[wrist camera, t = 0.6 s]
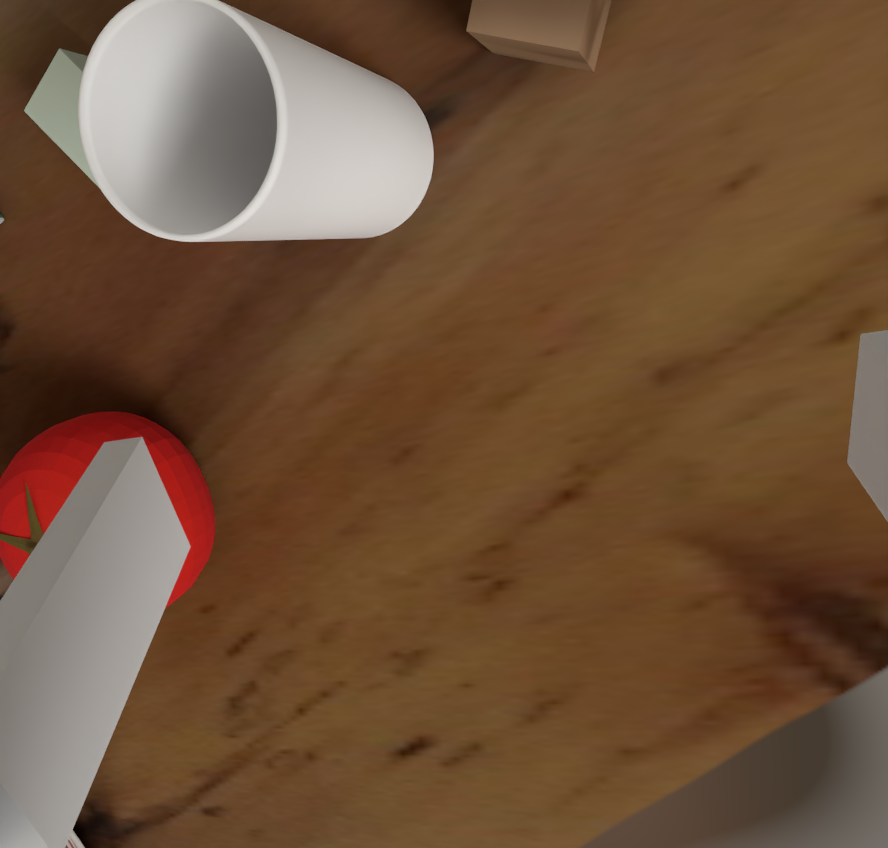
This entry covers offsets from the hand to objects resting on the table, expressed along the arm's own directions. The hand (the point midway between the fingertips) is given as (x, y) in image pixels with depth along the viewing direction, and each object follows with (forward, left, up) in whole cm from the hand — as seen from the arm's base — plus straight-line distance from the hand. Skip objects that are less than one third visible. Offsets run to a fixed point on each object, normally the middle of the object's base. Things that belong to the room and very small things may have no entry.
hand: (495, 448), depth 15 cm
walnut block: (-10, -11, -28) cm, 31 cm away
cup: (+1, -16, -28) cm, 32 cm away
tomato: (+25, -17, -28) cm, 41 cm away
